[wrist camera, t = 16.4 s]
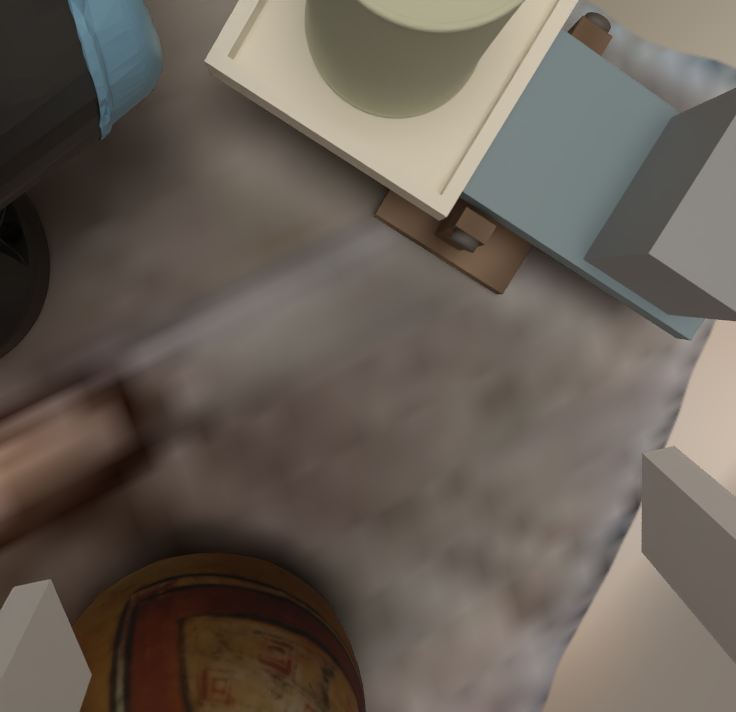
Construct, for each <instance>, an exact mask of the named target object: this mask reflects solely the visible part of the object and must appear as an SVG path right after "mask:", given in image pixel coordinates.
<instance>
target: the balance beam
mask: <svg viewBox="0 0 736 712" xmlns="http://www.w3.org/2000/svg"><path fill="white" fill-rule="evenodd" d="M577 2H578V0H525V1H524V2H523V3H522V4H521V6H520V7H519V8H518V10H517V11H516V12H515V13H514V15H513V16H512V17H511V18H510V20H509V21H508V22H507V24H506V25H505V26H504V27H503V29H502V30H501V31H500V33H499V34H498V35H497V37H496V38H495V39H494V41H493V42H492V43H491V45H490V46H489V47H488V49H487V50H486V51H485V53H484V54H483V56H482V57H481V58H480V60H479V62H478V64H477V66H476V68H475V71H474V72H473V74H472V76H471V77H470V79H469V80H468V82H467V83H466V84H465V86H464V87H463V88H462V89H461V90H460V91H459V92H458V93H457V94H456V95H455V96H454V97H453V98H452V99H450V100H449V101H448V102H447V103H445V104H444V105H442V106H440V107H438V108H437V109H435V110H433V111H430V112H428V113H425V114H422V115H419V116H414V117H408V118H387V117H381V116H376V115H373V114H369V113H367V112H364V111H362V110H360V109H358V108H356V107H354V106H352V105H351V104H349V103H348V102H346V101H345V100H343V99H342V98H341V97H340V96H339V95H337V94H336V93H335V92H334V91H333V90H332V89H331V87H330V86H329V85H328V84H327V83H326V81H325V80H324V79H323V77H322V76H321V74H320V73H319V71H318V69H317V67H316V66H315V63H314V61H313V59H312V56H311V54H310V51H309V48H308V43H307V39H306V33H305V21H304V20H305V5H306V0H239V1H238V3H237V5H236V7H235V8H234V10H233V12H232V14H231V15H230V17H229V19H228V21H227V22H226V24H225V26H224V28H223V29H222V31H221V33H220V34H219V36H218V38H217V40H216V41H215V43H214V45H213V47H212V48H211V50H210V52H209V54H208V55H207V57H206V59H205V61H204V62H205V64H206V66H207V68H208V70H209V72H210V74H211V75H212V76H214V77H216V78H217V79H219V80H220V81H222V82H223V83H225V84H226V85H228V86H230V87H231V88H233V89H234V90H236V91H237V92H239V93H241V94H242V95H244V96H245V97H247V98H248V99H250V100H251V101H253V102H255V103H256V104H258V105H259V106H261V107H262V108H264V109H265V110H267V111H269V112H270V113H272V114H273V115H275V116H276V117H278V118H280V119H281V120H283V121H284V122H286V123H287V124H289V125H290V126H292V127H294V128H295V129H297V130H298V131H300V132H301V133H303V134H304V135H306V136H308V137H309V138H311V139H312V140H314V141H315V142H317V143H318V144H320V145H322V146H323V147H325V148H326V149H328V150H329V151H331V152H333V153H334V154H336V155H337V156H339V157H340V158H342V159H343V160H345V161H347V162H348V163H350V164H351V165H353V166H354V167H356V168H357V169H359V170H361V171H362V172H364V173H365V174H367V175H368V176H370V177H372V178H373V179H375V180H376V181H378V182H379V183H381V184H382V185H384V186H386V187H387V188H389V189H390V190H392V191H393V192H395V193H396V194H398V195H400V196H401V197H403V198H404V199H406V200H407V201H409V202H411V203H412V204H414V205H415V206H417V207H418V208H420V209H421V210H423V211H425V212H426V213H428V214H429V215H431V216H432V217H434V218H435V219H437V220H439V221H440V220H442V219H444V218H446V217H447V216H448V214H449V213H450V211H451V209H452V208H453V206H454V204H455V203H456V201H457V199H458V198H459V197H460V198H462V199H463V200H465V201H466V202H468V203H469V204H471V205H472V206H474V207H475V208H477V209H478V210H480V211H481V212H483V213H485V214H486V215H488V216H489V217H491V218H492V219H494V220H495V221H497V222H498V223H500V224H501V225H503V226H505V227H506V228H508V229H509V230H511V231H512V232H514V233H515V234H517V235H518V236H520V237H521V238H523V239H525V240H526V241H528V242H529V243H531V244H532V245H534V246H535V247H537V248H538V249H540V250H541V251H543V252H545V253H546V254H548V255H549V256H551V257H552V258H554V259H555V260H557V261H558V262H560V263H561V264H563V265H565V266H566V267H568V268H569V269H571V270H572V271H574V272H575V273H577V274H578V275H580V276H581V277H583V278H585V279H586V280H588V281H589V282H591V283H592V284H594V285H595V286H597V287H598V288H600V289H601V290H603V291H605V292H606V293H608V294H609V295H611V296H612V297H614V298H615V299H617V300H618V301H620V302H621V303H623V304H624V305H626V306H628V307H629V308H631V309H632V310H634V311H635V312H637V313H638V314H640V315H641V316H643V317H644V318H646V319H648V320H649V321H651V322H652V323H654V324H655V325H657V326H658V327H660V328H661V329H663V330H664V331H666V332H668V333H669V334H671V335H672V336H674V337H675V338H679V339H685V340H692V338H693V336H694V335H695V333H696V332H697V330H698V329H699V327H700V325H701V324H702V322H703V321H704V319H705V318H707V319H718V320H729V321H736V88H734V89H732V90H730V91H728V92H726V93H724V94H721V95H719V96H717V97H715V98H713V99H711V100H708V101H706V102H704V103H702V104H700V105H698V106H695V107H693V108H691V109H689V110H687V111H685V112H682V113H680V112H679V111H677V110H676V109H675V108H673V107H672V106H670V105H669V104H668V103H666V102H665V101H663V100H662V99H660V98H659V97H658V96H656V95H655V94H653V93H652V92H651V91H649V90H648V89H646V88H645V87H644V86H642V85H641V84H639V83H638V82H637V81H635V80H634V79H632V78H631V77H629V76H628V75H627V74H625V73H624V72H622V71H621V70H620V69H618V68H617V67H615V66H614V65H613V64H611V63H610V62H608V61H607V60H606V59H604V58H603V57H601V56H600V55H599V54H597V53H596V52H594V51H593V50H591V49H590V48H589V47H587V46H586V45H584V44H583V43H582V42H580V41H579V40H577V39H576V38H575V37H573V36H572V35H570V34H569V33H568V32H566V31H565V30H563V29H562V26H563V25H564V23H565V22H566V20H567V18H568V17H569V15H570V13H571V12H572V10H573V8H574V7H575V5H576V3H577Z"/></svg>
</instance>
